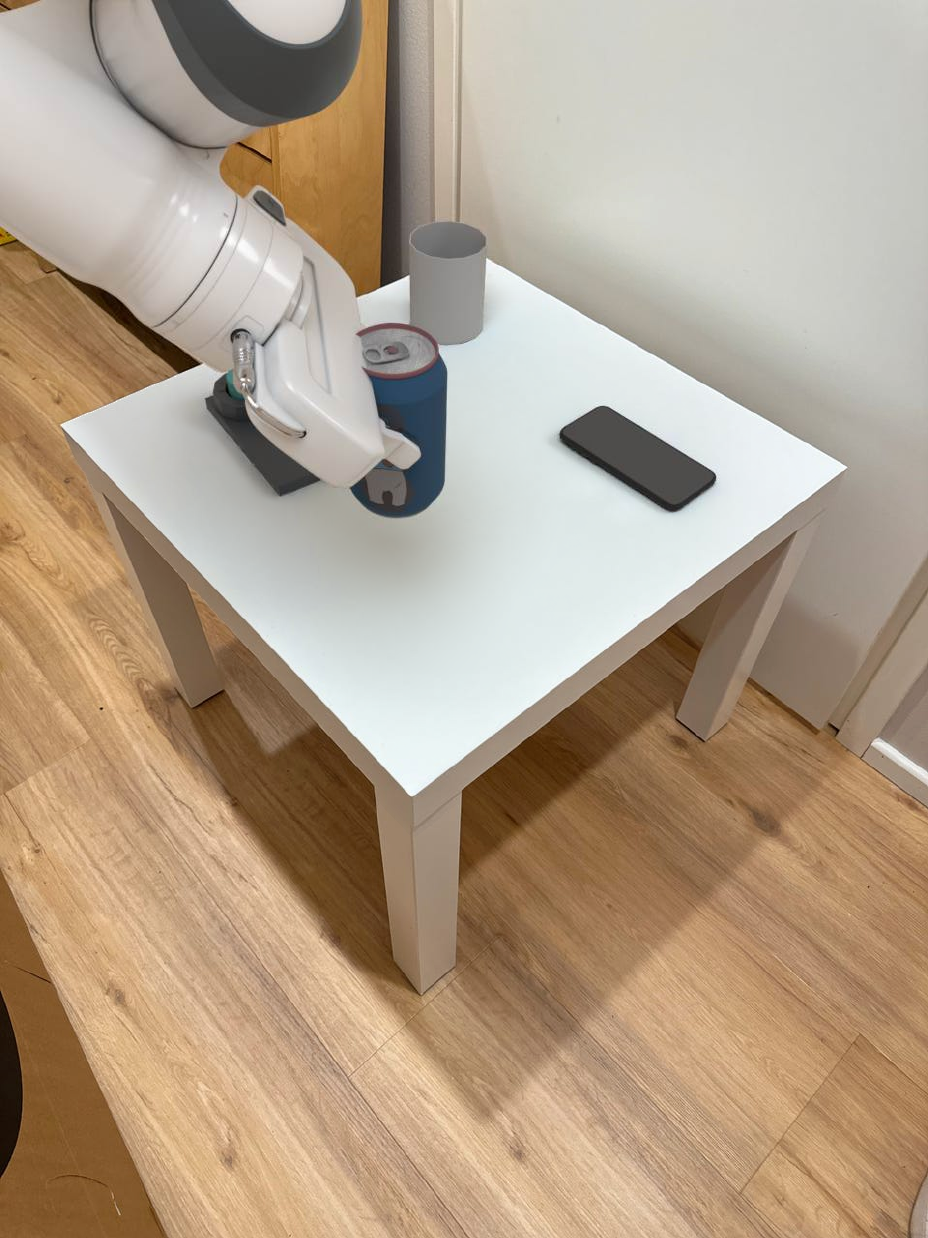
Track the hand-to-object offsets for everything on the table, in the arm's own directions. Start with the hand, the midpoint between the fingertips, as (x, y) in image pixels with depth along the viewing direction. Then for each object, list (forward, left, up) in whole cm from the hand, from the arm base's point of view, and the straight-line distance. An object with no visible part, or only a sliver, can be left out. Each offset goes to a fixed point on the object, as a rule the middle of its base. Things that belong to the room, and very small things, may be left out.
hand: (404, 416), depth 61 cm
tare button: (+1, +31, -17) cm, 35 cm away
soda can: (-1, 0, -7) cm, 7 cm away
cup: (+27, +34, -20) cm, 48 cm away
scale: (+5, +26, -19) cm, 33 cm away
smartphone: (+29, +4, -19) cm, 35 cm away
